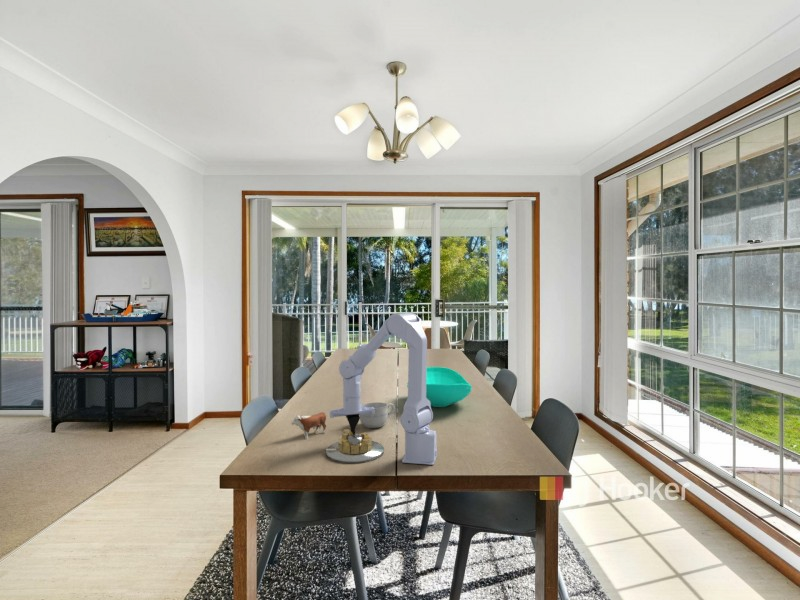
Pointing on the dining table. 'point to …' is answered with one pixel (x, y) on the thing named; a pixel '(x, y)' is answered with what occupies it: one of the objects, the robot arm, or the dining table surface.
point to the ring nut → (354, 448)
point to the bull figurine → (310, 422)
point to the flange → (367, 456)
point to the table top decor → (445, 386)
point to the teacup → (376, 414)
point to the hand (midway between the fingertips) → (352, 437)
